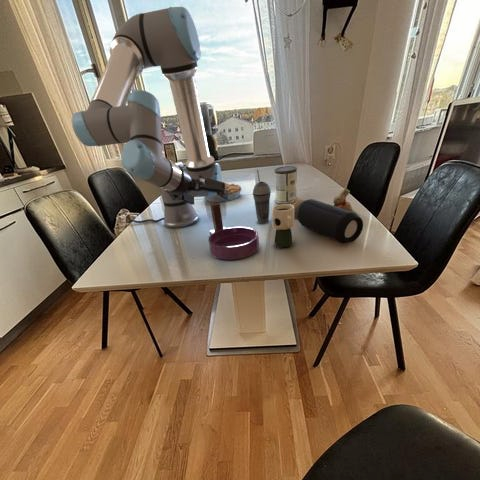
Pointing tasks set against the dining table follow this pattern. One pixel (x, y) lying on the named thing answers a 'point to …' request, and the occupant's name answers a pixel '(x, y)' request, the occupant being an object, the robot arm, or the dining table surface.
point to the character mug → (283, 224)
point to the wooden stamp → (216, 218)
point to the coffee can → (285, 184)
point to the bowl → (234, 243)
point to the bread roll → (296, 205)
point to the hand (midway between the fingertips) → (209, 198)
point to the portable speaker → (330, 220)
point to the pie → (232, 193)
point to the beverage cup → (262, 201)
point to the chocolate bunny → (342, 200)
